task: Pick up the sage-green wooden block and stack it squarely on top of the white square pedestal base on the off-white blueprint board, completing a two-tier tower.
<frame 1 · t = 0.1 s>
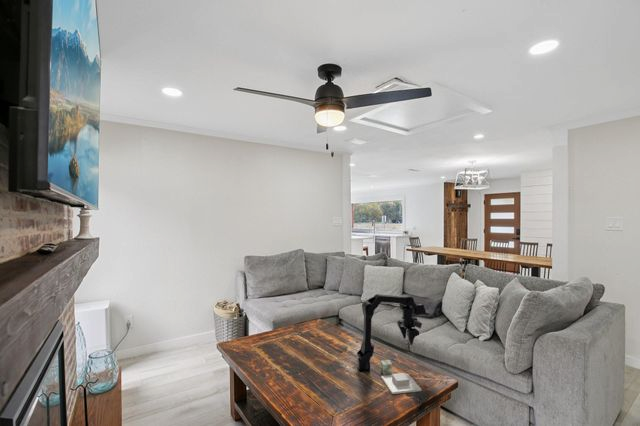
hand: (407, 341, 192), 14 cm above the table, fingers open, 9 cm apart
sage block: (386, 372, 184), on the table
white square pedestal base: (400, 384, 171), on the table
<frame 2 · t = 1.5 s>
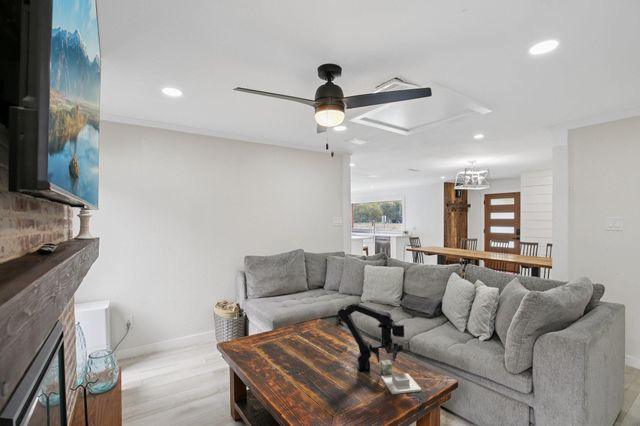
hand: (386, 361, 184), 6 cm above the table, fingers open, 9 cm apart
nothing on the table moved.
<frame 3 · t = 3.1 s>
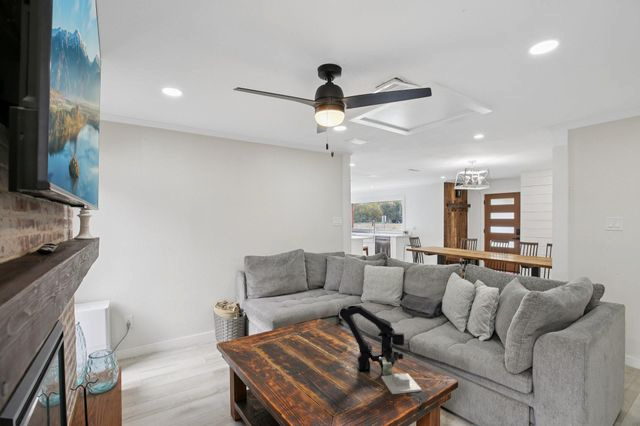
hand: (386, 370, 184), 1 cm above the table, fingers closed on sage block, 5 cm apart
sage block: (386, 372, 184), on the table, touching gripper
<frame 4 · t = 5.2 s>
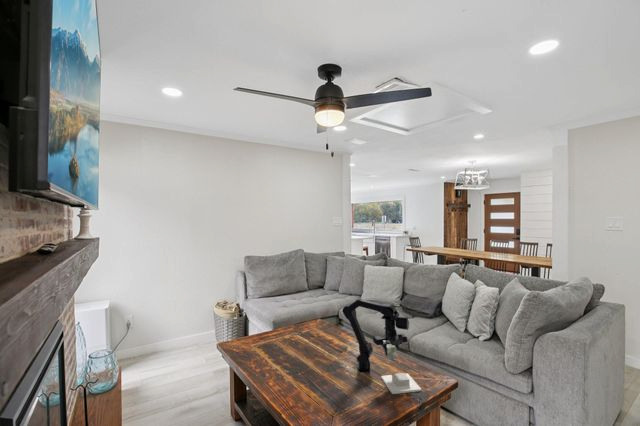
hand: (390, 354, 180), 12 cm above the table, fingers closed on sage block, 5 cm apart
sage block: (390, 356, 180), point 11 cm above the table, touching gripper
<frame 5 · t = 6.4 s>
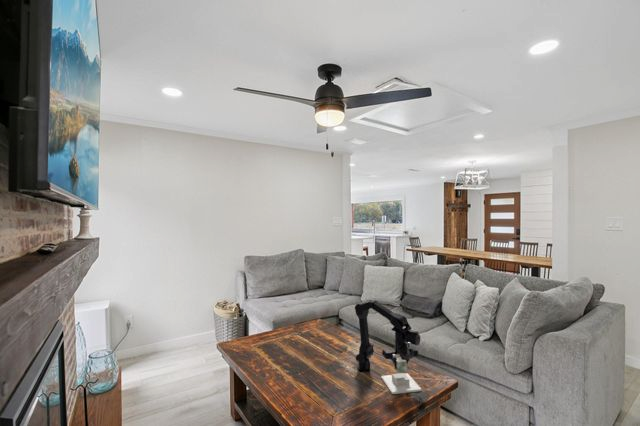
hand: (400, 368, 171), 9 cm above the table, fingers closed on sage block, 5 cm apart
sage block: (400, 370, 171), point 7 cm above the table, touching gripper
when the fingers open (7 cm above the table, at t = 7.5 s): sage block drops 1 cm, resting on white square pedestal base.
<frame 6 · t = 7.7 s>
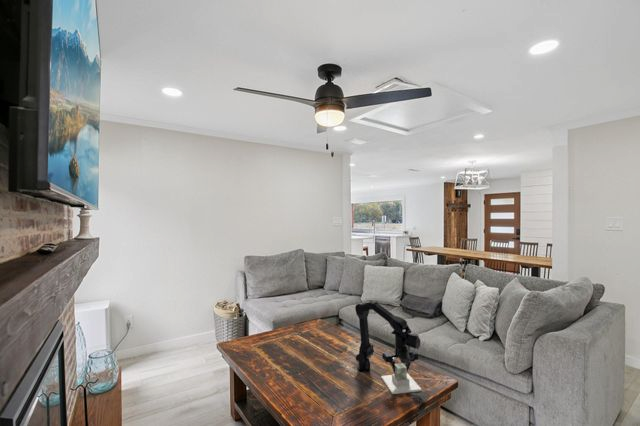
hand: (400, 371, 171), 7 cm above the table, fingers open, 7 cm apart
sage block: (400, 376, 171), point 4 cm above the table, touching white square pedestal base
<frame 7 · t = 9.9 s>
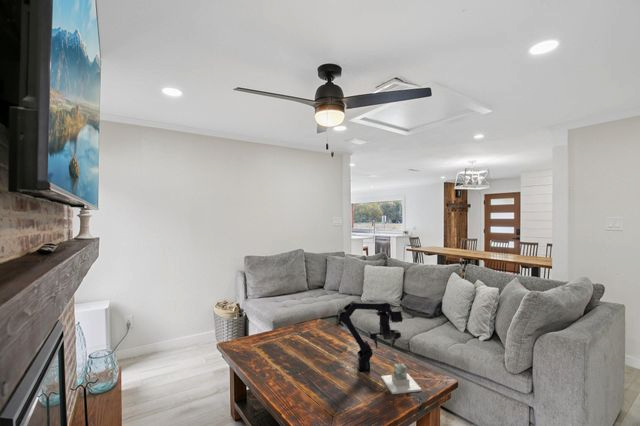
hand: (384, 348, 189), 12 cm above the table, fingers open, 9 cm apart
nothing on the table moved.
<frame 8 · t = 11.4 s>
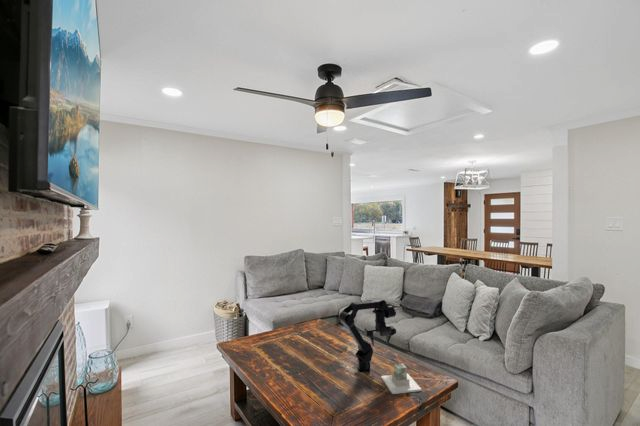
hand: (380, 344, 193), 12 cm above the table, fingers open, 9 cm apart
nothing on the table moved.
at the end: sage block 0.1 cm off-centre on the white square pedestal base, point 4.0 cm above the white square pedestal base's base; sage block tilted 0°; the gripper is holding nothing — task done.
